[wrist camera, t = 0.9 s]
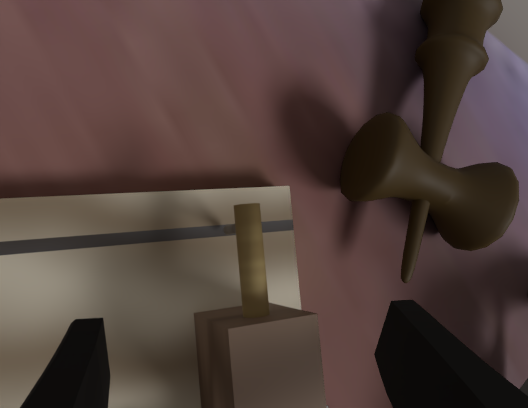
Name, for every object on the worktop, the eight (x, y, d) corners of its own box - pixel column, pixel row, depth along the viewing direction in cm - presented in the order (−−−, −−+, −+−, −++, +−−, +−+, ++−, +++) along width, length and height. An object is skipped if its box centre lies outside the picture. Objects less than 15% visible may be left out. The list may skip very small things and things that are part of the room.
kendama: (479, 51, 36) (432, 303, 31) (379, -9, 33) (309, 258, 28) (551, 11, 30) (509, 309, 25) (439, -65, 28) (366, 255, 23)
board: (299, 414, 26) (331, 436, 23) (-446, 610, 15) (-582, 704, 12) (278, 189, 27) (305, 180, 24) (-438, 222, 16) (-562, 214, 13)
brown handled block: (275, 397, 24) (329, 434, 19) (201, 415, 23) (239, 460, 18) (258, 209, 25) (305, 197, 20) (185, 213, 24) (217, 202, 18)
